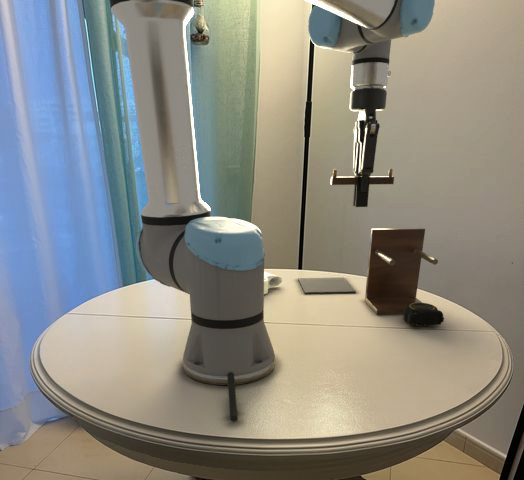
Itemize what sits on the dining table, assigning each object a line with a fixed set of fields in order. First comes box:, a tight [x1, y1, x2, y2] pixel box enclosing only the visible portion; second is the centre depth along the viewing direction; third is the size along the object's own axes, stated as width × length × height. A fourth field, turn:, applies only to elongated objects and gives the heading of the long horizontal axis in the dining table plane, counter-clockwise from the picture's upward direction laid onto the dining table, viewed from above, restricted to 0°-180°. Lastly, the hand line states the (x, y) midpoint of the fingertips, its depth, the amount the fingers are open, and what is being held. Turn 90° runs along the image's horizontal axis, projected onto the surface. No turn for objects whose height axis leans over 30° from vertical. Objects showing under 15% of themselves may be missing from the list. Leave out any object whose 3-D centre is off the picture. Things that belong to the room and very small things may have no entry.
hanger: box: [330, 168, 395, 186], centre depth 102 cm, size 2×14×3 cm, turn 92°
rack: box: [364, 227, 439, 315], centre depth 100 cm, size 12×12×17 cm
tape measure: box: [403, 302, 445, 328], centre depth 94 cm, size 7×7×4 cm
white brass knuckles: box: [264, 271, 283, 295], centre depth 121 cm, size 3×18×15 cm
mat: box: [297, 277, 357, 295], centre depth 121 cm, size 14×13×1 cm
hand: (360, 206), depth 105 cm, fingers closed on hanger, 2 cm apart
